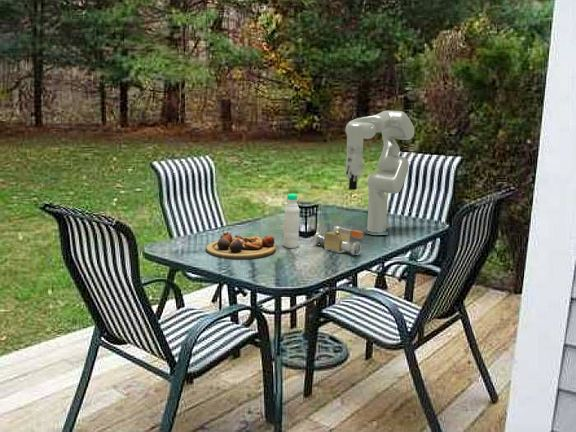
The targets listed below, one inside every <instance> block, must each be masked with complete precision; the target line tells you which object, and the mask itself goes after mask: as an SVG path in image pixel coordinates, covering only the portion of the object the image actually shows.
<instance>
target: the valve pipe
mask: <svg viewBox="0 0 576 432" xmlns="http://www.w3.org/2000/svg"><path fill="white" fill-rule="evenodd" d="M350 238H351V237H350V235H347V234H343V233H335V232H334V230H332V231H327V232H324V233H323V232H321V231H317V232H316V233H315V234H314V235H313V238H312V241H313V244H314V245H315V244H316V246H318V244H321V245H323V247H324V248H327V249H332V250H336V251H342V250H344V251H347V252H349V253H350V255H352V254H356V253H359V252H360V253H361V252H362V249H363V248H362V243H361V242H360V241H354V242H351V241H350V240H351V239H350ZM324 248H323V249H324Z"/></svg>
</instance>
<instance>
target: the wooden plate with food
mask: <svg viewBox="0 0 576 432" xmlns="http://www.w3.org/2000/svg"><path fill="white" fill-rule="evenodd" d="M222 234H223V235H221V236H220V237H219V240H215V241H213V242H210V243H209V244H207V246H206V247H205V251H206V253H207V252H208V253H207V254H209V255H210V254H211V256H213V257H216V258H220V259H226V258H227V259H228V260H251V259H259V258H264V257H267V256H270V255H272V254H274V253H275V252H276V250H277V245H276V244H275V238H274V236H273V235H266V236H264V238H261V237H260V236H258V235H257V236H250V237H244V236H240V235H237V234H236V235H235V236H234V237H233V236H232V233H231V232H228V231H227V232H223V233H222Z"/></svg>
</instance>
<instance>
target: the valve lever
mask: <svg viewBox="0 0 576 432" xmlns="http://www.w3.org/2000/svg"><path fill="white" fill-rule="evenodd" d="M333 231H334V232H335V233H343V234H347V235H350V238H354V239H359V240H360V239H363V238H364V231H362V230H359V229H358V230H357V229H349V228H345V227H342V226H341V225H333Z"/></svg>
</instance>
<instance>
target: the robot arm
mask: <svg viewBox="0 0 576 432" xmlns="http://www.w3.org/2000/svg"><path fill="white" fill-rule="evenodd" d="M380 132H381V136H382V137H381V138H382V143H383V149H382V151H381V154H380V156H379V159H378V162H377V164H376V169H377V171H378V172H373V173H371V174H370V175H369V176H368V178H367V187H368V206H367V207H368V209H367V211H368V212H367V225H366V229H367V230H368V231H371V232H383V231H386V229H387V230H388V229H390V228H392V227H391V224H387V218H388V216H387V215H388V197H387V196H386V194H399V192H401V190H402V188H403V185H404V183H405V181H406V177H407V175H408V171H409V166H410V165H409V164H410V163H409V160H408V158H407V157H404V156H400V155H399V154H400V150H401V149H400V146H399V144H398V143H397V141H396V140H402V141H403V140H404V141H405V140H406V141H408V140H411V139H412V138H414V135H415V126H414V124H413V123H412V121H411V119H410V118H409V115H407V113H406V112H405V111H402V110H401V111H400V110H383V111H380V112H379V113H377V114H375V115H369V116H364V117H357V118H355V119H353V120H350V121H349V122H348V123H347V124H346V126H345V134H346V154H347V155H346V159H345V160H346V161H345V174H346V176H347V179H348V182H349V184H348V190H352V191H355V190H357V188H358V178H359V176H360V175H362V174H363V173H364V159H363V158H364V156H363V154H364V153H363V152H364V150H363V149H364V140H369V139H372V138H374V137H375V135H376V134H377V133H380ZM385 193H386V194H385Z"/></svg>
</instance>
